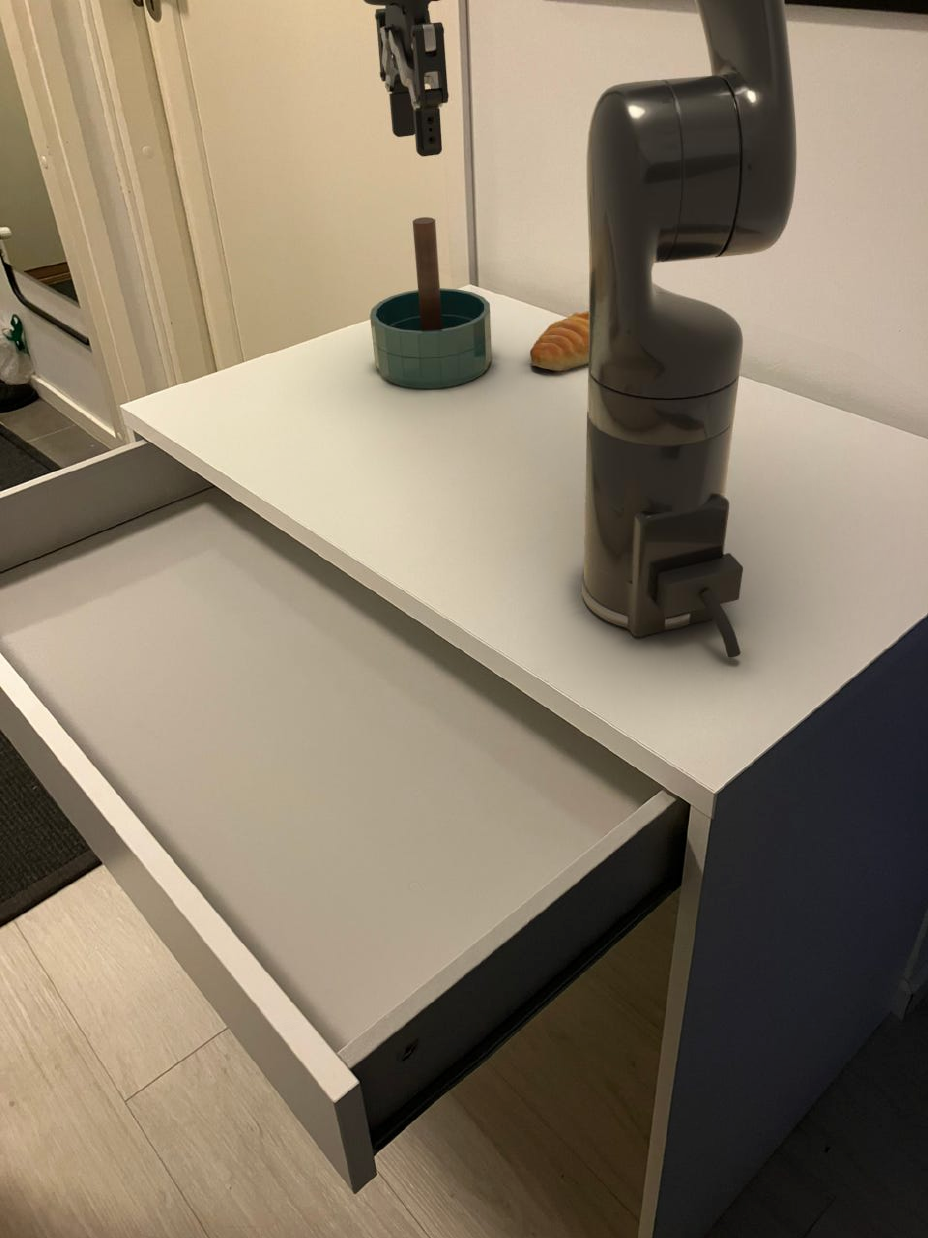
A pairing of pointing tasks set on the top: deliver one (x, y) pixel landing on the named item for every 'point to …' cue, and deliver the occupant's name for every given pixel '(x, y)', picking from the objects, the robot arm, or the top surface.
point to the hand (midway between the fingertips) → (416, 144)
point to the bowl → (432, 340)
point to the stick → (427, 273)
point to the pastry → (563, 344)
